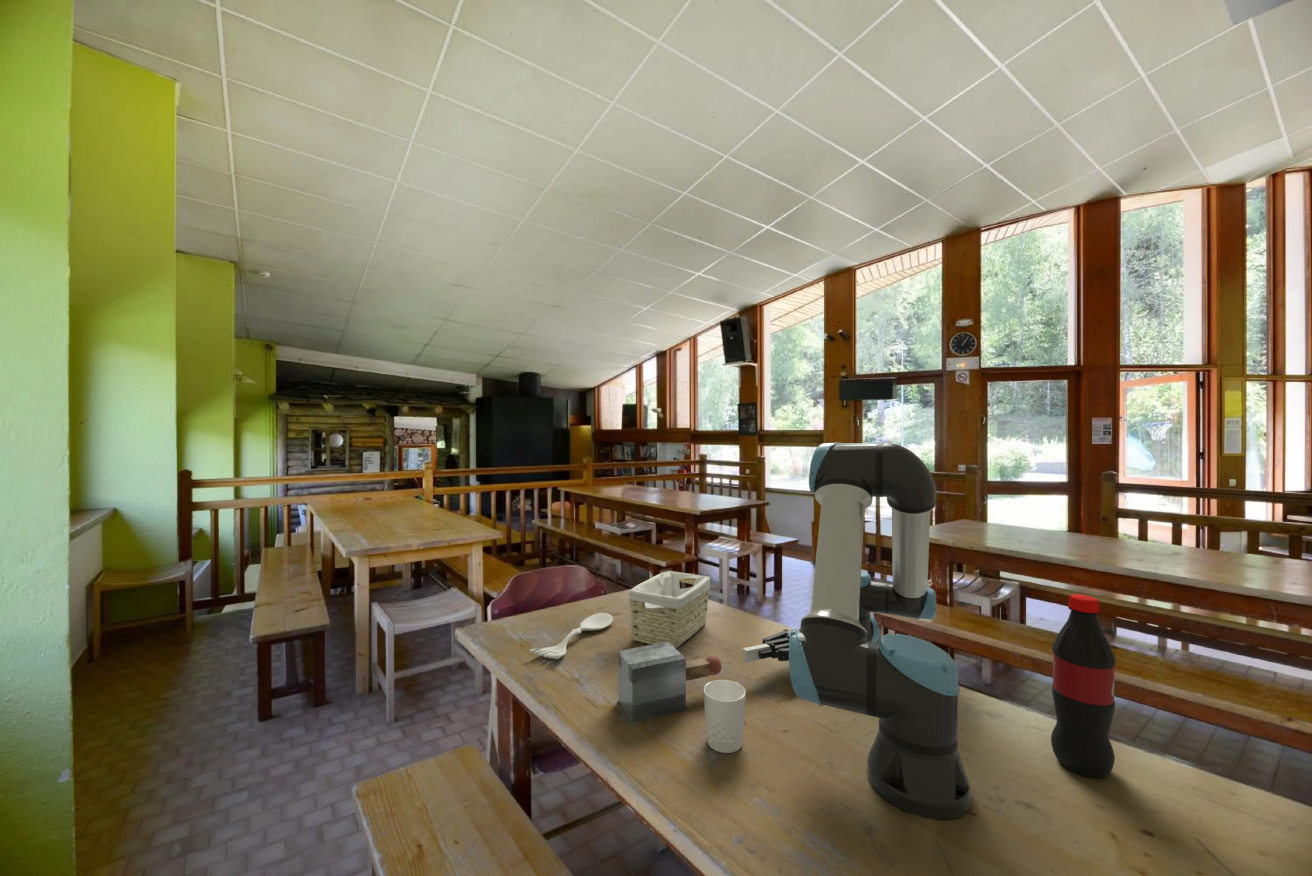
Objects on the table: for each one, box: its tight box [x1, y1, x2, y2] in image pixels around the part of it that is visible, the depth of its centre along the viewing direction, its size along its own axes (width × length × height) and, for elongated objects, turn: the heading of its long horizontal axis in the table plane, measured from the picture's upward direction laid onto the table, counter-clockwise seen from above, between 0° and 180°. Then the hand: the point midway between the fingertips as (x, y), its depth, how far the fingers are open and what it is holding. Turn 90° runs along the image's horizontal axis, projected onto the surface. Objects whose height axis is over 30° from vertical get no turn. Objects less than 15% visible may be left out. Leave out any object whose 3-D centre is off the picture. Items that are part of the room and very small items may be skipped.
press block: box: [617, 642, 687, 724], centre depth 107 cm, size 12×9×11 cm
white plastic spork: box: [528, 612, 614, 660], centre depth 141 cm, size 9×32×4 cm, turn 156°
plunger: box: [686, 655, 723, 682], centre depth 111 cm, size 14×4×4 cm, turn 113°
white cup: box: [703, 679, 747, 754], centre depth 95 cm, size 8×8×10 cm
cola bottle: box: [1050, 593, 1117, 778], centre depth 87 cm, size 8×8×30 cm
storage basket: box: [628, 570, 711, 650], centre depth 146 cm, size 24×16×15 cm
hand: (744, 655), depth 117 cm, fingers closed
